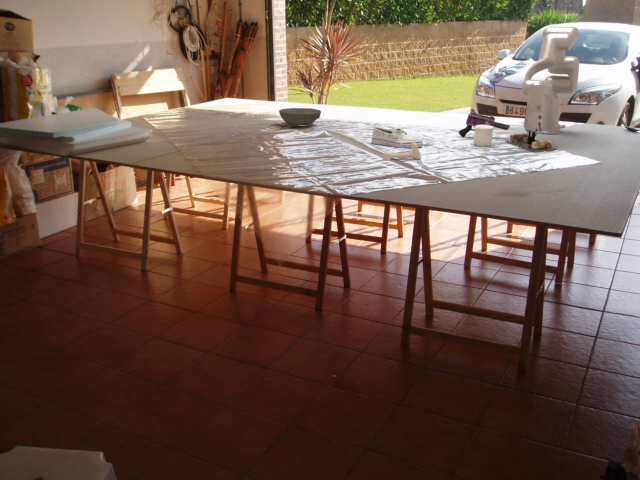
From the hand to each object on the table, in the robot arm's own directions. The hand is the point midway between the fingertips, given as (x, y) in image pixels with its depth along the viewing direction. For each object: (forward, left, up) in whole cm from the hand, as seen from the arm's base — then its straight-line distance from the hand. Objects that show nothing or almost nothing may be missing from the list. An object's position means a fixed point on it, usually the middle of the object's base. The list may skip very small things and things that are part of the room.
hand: (530, 143), depth 302 cm
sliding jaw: (-1, +7, -1) cm, 7 cm away
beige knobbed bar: (+71, 0, -2) cm, 71 cm away
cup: (+19, -15, -2) cm, 24 cm away
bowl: (+96, -104, -2) cm, 141 cm away
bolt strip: (-2, -3, -2) cm, 4 cm away
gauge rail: (-1, -3, -2) cm, 4 cm away
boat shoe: (+62, -29, -3) cm, 69 cm away
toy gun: (+9, -31, -2) cm, 32 cm away
